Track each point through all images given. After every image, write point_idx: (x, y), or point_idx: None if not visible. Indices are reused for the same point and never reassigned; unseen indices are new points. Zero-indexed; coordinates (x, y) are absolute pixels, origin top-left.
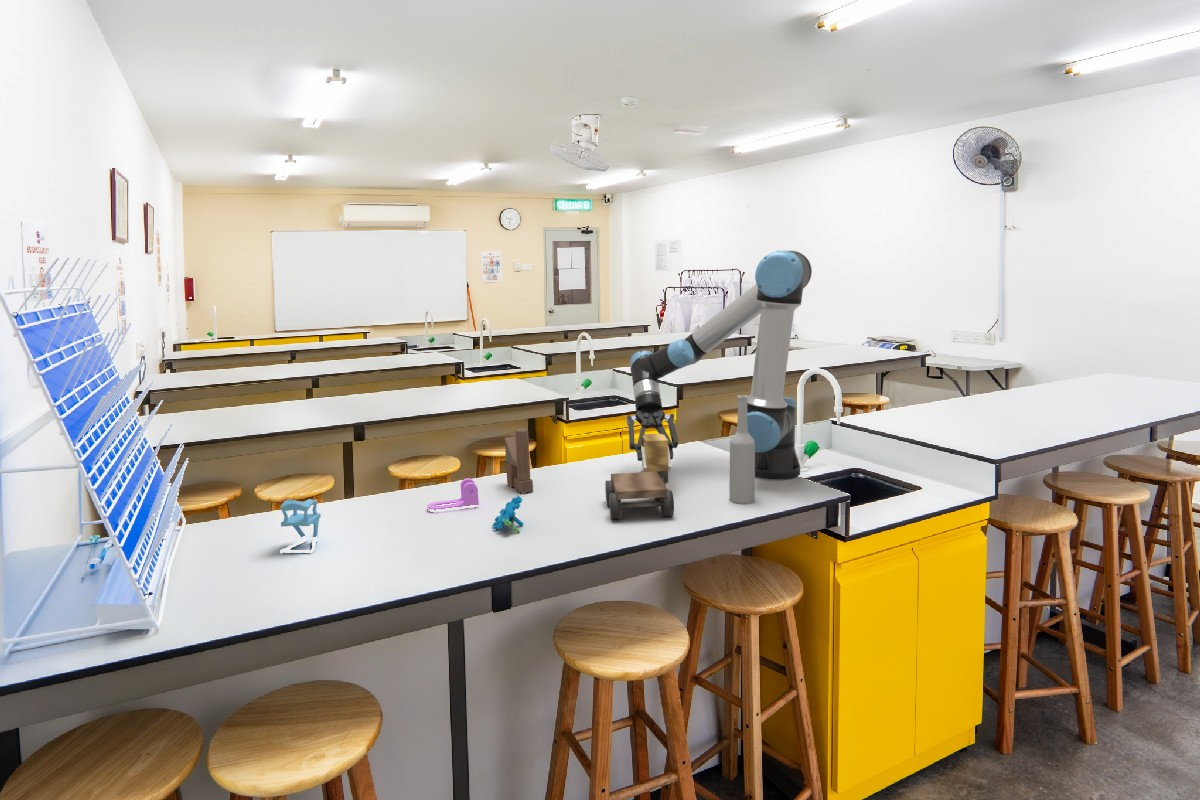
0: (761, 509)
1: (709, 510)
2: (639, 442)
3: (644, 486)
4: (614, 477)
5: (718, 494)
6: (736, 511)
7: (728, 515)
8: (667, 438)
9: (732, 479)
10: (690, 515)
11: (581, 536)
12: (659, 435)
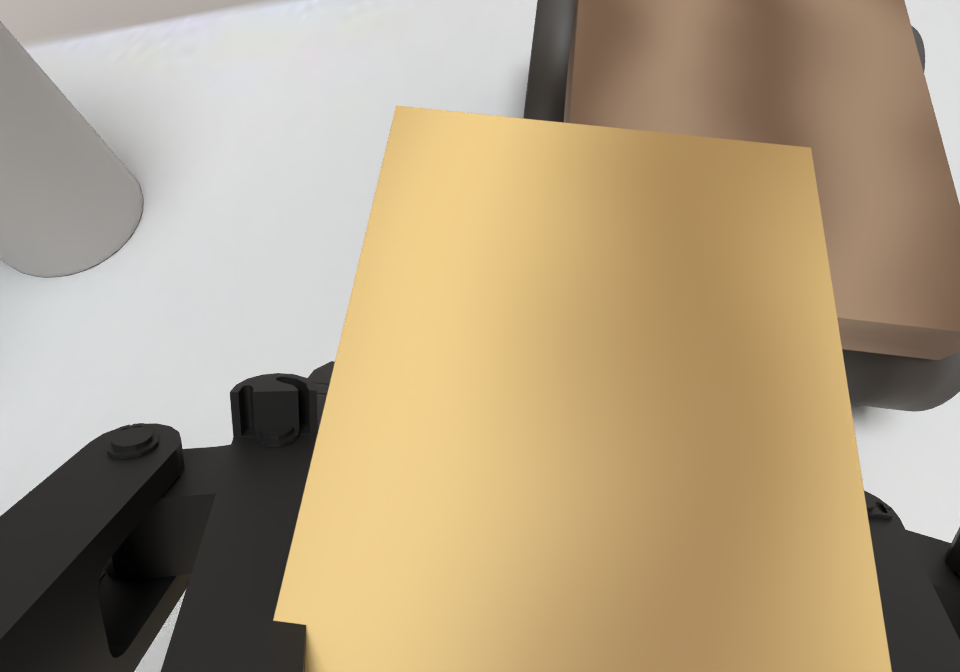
0: (81, 81)
1: (321, 129)
2: (874, 550)
3: (716, 2)
4: (945, 227)
5: (127, 343)
6: (207, 88)
7: (272, 58)
8: (253, 520)
9: (51, 92)
10: (438, 98)
11: (941, 19)
12: (429, 543)
